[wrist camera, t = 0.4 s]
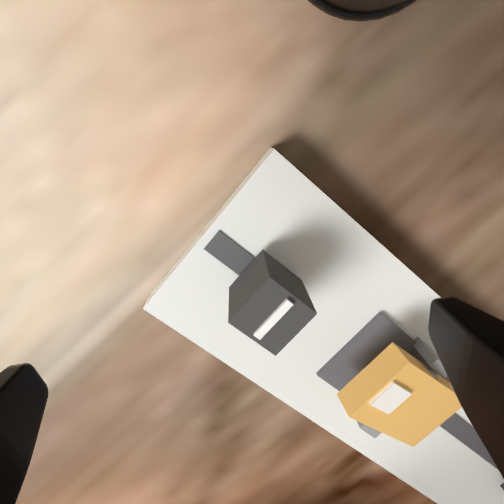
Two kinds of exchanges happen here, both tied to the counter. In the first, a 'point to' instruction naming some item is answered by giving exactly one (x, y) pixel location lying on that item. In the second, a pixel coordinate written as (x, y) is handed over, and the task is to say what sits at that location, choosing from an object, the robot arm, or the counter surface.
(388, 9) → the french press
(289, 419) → the counter surface
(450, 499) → the panel
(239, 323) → the slider
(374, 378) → the tan block
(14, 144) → the counter surface
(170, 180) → the counter surface
